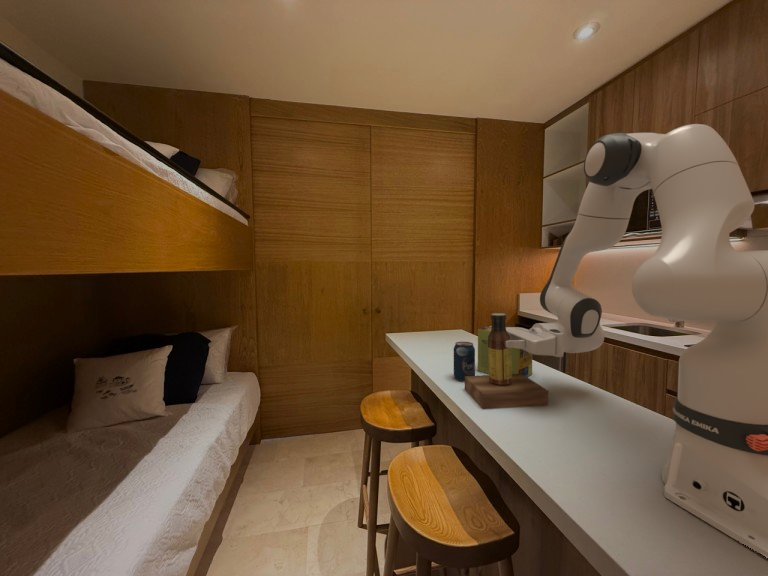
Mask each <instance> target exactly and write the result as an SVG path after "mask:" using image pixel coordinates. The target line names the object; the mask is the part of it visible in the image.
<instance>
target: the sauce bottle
mask: <svg viewBox="0 0 768 576" xmlns="http://www.w3.org/2000/svg"><path fill="white" fill-rule="evenodd" d="M490 319H491V326H492V330H491V332H490V334H489V336H488V364H489V374H488V375H489V378H490V382H492V383H493V384H496V385H509V384H511V378H512V366H511V348H507V347H505V346H504V341H505V340H510V336H509V334H508V332H507V331H506V327H507V326H506V319H507V314H506V313H503V312H501V313H500V312H499V313H497V312H495V313H491V314H490Z"/></svg>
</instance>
